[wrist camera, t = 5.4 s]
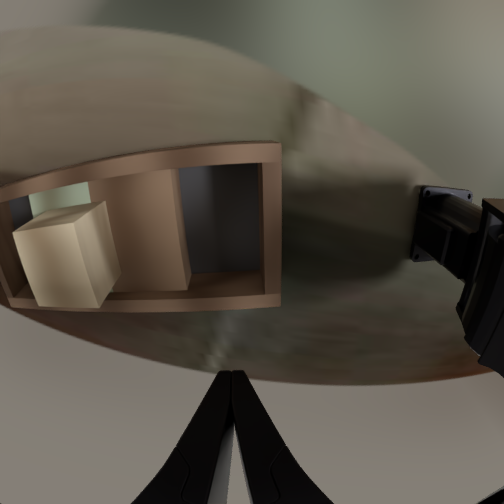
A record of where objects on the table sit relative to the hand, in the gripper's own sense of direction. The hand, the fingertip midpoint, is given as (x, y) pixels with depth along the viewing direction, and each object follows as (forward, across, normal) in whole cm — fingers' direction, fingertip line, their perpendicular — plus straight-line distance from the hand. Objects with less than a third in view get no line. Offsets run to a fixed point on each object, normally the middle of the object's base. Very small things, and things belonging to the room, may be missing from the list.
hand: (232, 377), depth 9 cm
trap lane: (+12, +9, -2) cm, 15 cm away
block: (+9, +10, -2) cm, 14 cm away
